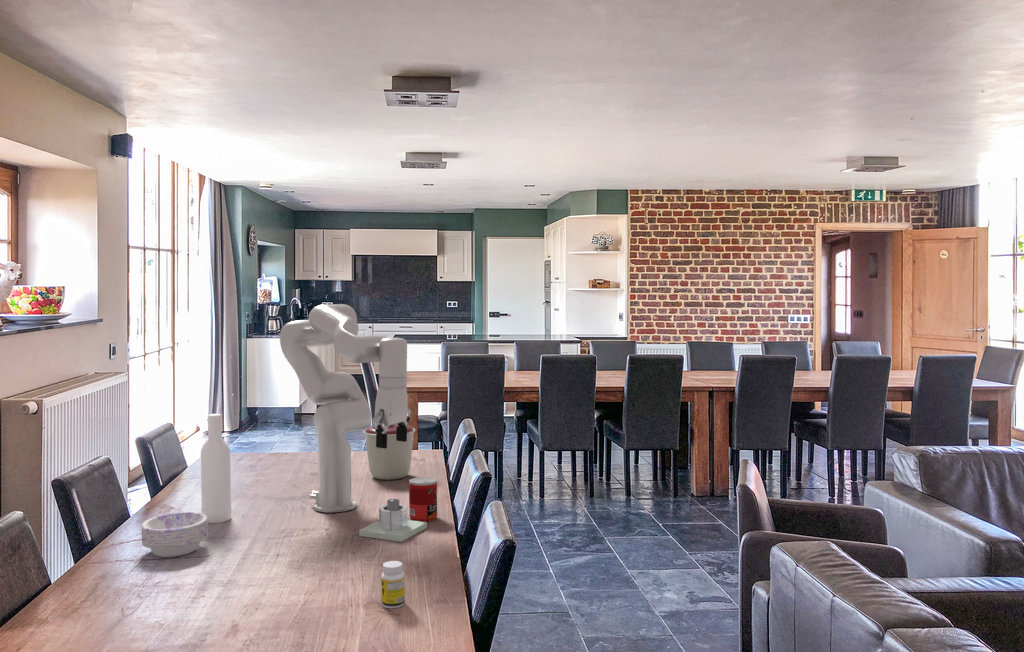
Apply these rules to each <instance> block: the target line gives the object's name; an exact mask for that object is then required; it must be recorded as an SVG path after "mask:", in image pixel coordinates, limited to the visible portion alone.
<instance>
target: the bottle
mask: <svg viewBox="0 0 1024 652" xmlns="http://www.w3.org/2000/svg"><path fill="white" fill-rule="evenodd" d="M222 423H223V418H222V414H221V413H210V414H208V415H207V434H208V435H207V437H208V438H207V440H206V441H205V442H204V443H203V444H202V447H201V449H200V480H201V481H200V483H201V484H200V485H201V486H200V488H201V489H200V490H201V513H202V514H205V515H206V516H207V517H208V524H219V523H224V522H227V521H230V520H231V518H232V511H233V510H232V492H231V491H232V489H231V488H232V486H231V485H232V484H231V481H232V480H231V451H230V450H231V449H230V446H229V444H228V442H227V441H225V440H224V439H223V429H222V428H223V426H222Z"/></svg>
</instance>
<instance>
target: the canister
mask: <svg viewBox="0 0 1024 652" xmlns="http://www.w3.org/2000/svg"><path fill="white" fill-rule="evenodd" d="M397 426H398V425H397V424H395V425H391V426H388V429H387V431H386V434H387V448H385V449H384V448H377V447H376V433H375V429H374V428H373V425H369V426H368V427H366V428H365V429H363V430H362V431H363V434H364V436H365V437H364V438H365V444H366V452H367V461H368V467H369V468H368V469H369V472H370V475H371V476H372V477H373V478H375V479H377V480H382V481H393V480H400V479H402V478H405V477H407V476H408V475H409V473H410V469H411V464H412V463H411V461H412V454H413V445H414V433H416V429H415V428H414V427H413V426H411V425H410V424H408V427H406V428H407V441H406V442H402V441H397V440H396V427H397ZM381 427H382V428H383V427H384V426H381Z"/></svg>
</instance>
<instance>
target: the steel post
mask: <svg viewBox="0 0 1024 652" xmlns="http://www.w3.org/2000/svg"><path fill="white" fill-rule="evenodd" d="M386 501H387V502H386V505H387V510H390V511H393V510H399V504H400V499H399V498H389V499H387V500H386Z"/></svg>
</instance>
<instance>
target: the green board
mask: <svg viewBox="0 0 1024 652" xmlns="http://www.w3.org/2000/svg"><path fill="white" fill-rule="evenodd" d="M427 526H428V522H420V521H413V520H411V519H407V527H405V528H403V529H400V530H383V529H381V528H380V527H379V520H377V521H375V522H373V523H371V524H369V525H368V526H365V527H363V528H361V529H359V531H358V532H359V533H358V534H359V537H365V538H372V539H380V540H388V541H393V542H399V543H400V542H404V541H406V540H407V539H409V538H411V537H413V536H415V535H416V534H418V533H420V532H423V530H426V529H427Z"/></svg>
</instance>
